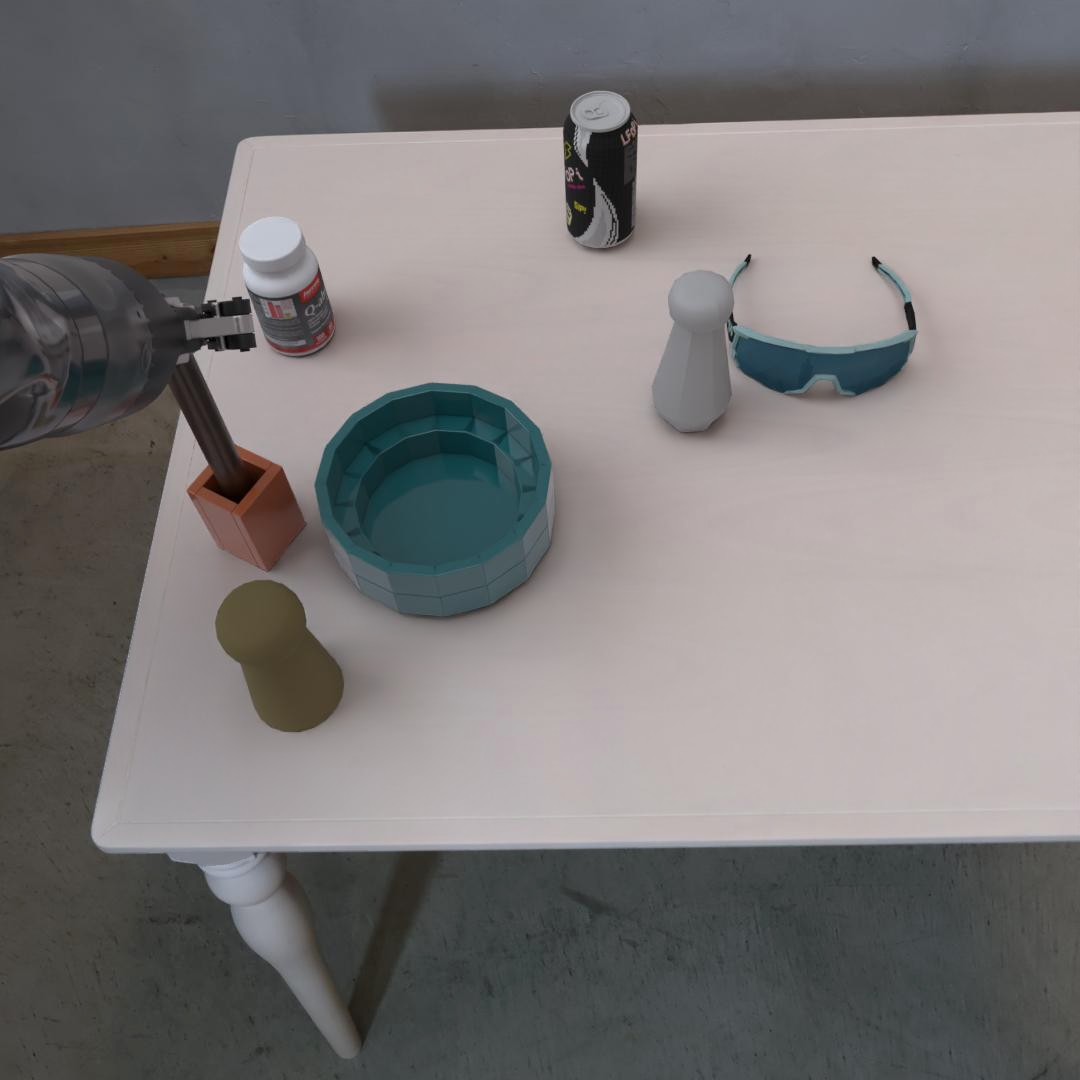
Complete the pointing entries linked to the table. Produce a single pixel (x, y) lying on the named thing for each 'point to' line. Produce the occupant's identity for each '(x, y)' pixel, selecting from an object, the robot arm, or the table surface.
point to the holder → (250, 512)
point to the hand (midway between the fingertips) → (176, 328)
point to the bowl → (437, 498)
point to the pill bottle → (286, 287)
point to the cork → (279, 656)
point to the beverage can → (600, 169)
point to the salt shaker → (695, 353)
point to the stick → (209, 429)
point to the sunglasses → (822, 353)
